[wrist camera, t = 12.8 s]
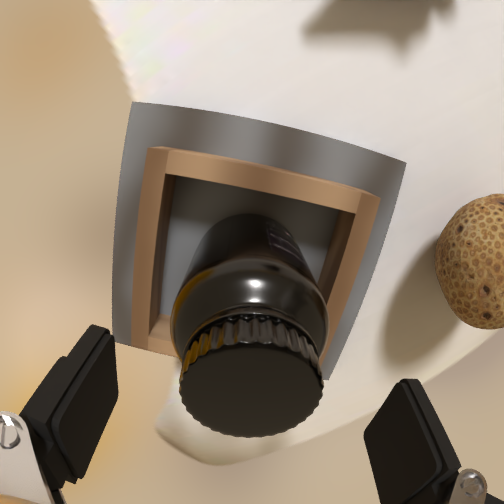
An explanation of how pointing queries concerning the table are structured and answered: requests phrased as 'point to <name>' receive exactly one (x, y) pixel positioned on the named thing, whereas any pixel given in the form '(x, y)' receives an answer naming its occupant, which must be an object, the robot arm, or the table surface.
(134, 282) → the collar board
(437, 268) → the natural sponge
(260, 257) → the supplement bottle
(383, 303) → the table surface
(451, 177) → the table surface
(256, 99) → the table surface
